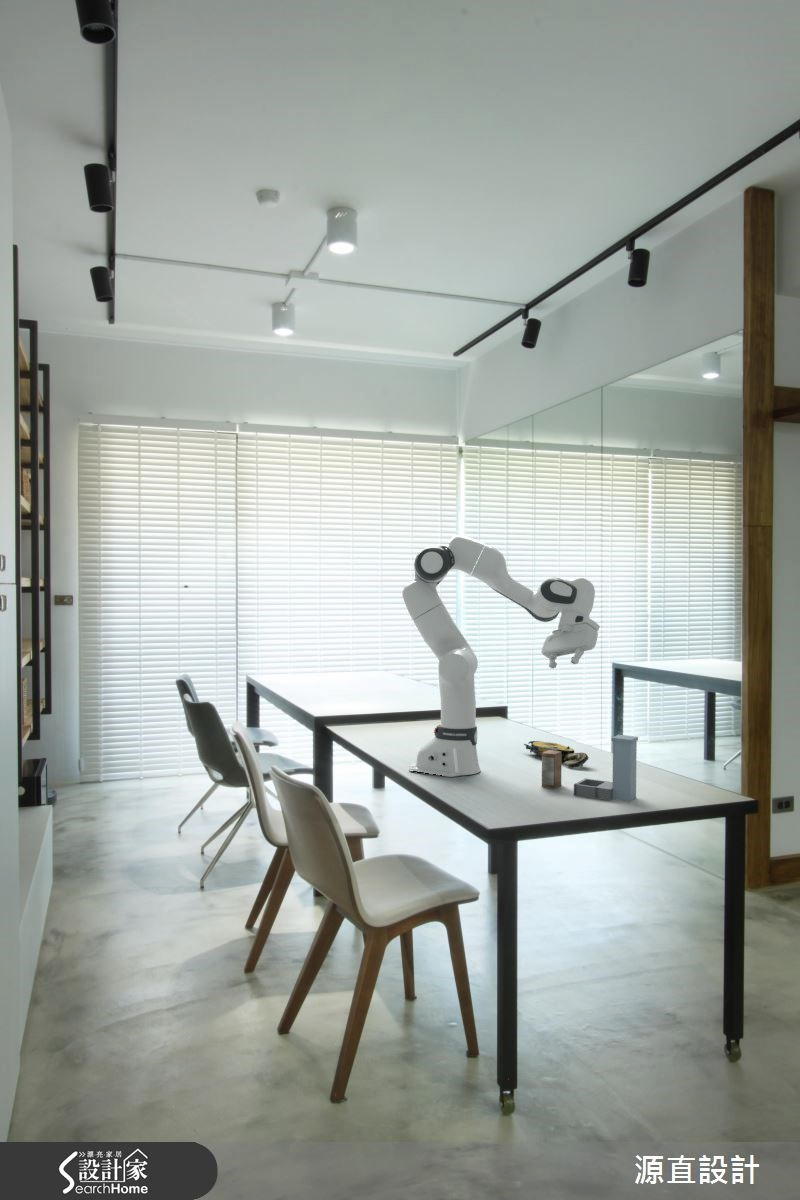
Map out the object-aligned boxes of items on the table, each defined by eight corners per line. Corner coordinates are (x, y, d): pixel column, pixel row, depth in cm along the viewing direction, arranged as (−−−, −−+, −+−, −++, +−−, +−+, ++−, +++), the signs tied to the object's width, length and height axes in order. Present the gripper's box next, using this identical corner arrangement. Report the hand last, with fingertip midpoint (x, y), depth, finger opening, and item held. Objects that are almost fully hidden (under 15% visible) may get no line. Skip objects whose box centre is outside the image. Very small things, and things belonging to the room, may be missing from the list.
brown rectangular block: (541, 787, 246) (541, 753, 246) (548, 783, 251) (549, 750, 251) (553, 789, 244) (554, 754, 244) (561, 785, 249) (561, 751, 248)
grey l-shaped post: (573, 794, 238) (574, 734, 237) (585, 788, 245) (585, 730, 244) (629, 803, 229) (629, 740, 228) (639, 796, 236) (639, 735, 236)
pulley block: (563, 751, 267) (522, 734, 296) (560, 769, 267) (520, 751, 296) (602, 755, 271) (558, 739, 300) (599, 773, 271) (556, 755, 300)
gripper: (542, 627, 270) (532, 665, 265) (589, 615, 254) (579, 655, 248) (556, 636, 273) (546, 674, 267) (604, 625, 256) (594, 665, 251)
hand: (563, 665), depth 257 cm, fingers open, 8 cm apart
